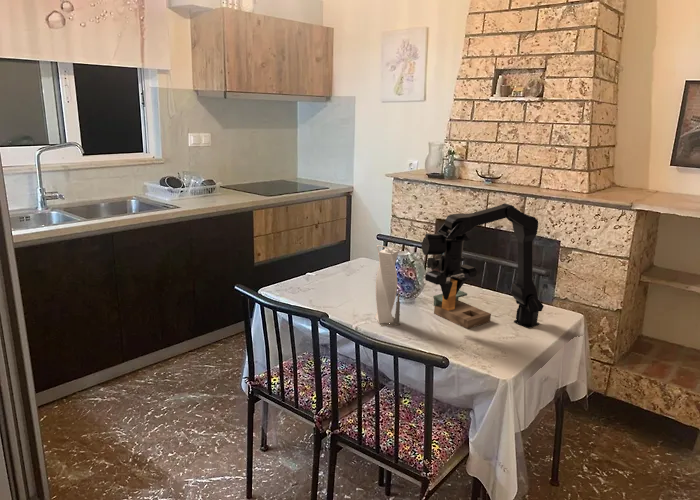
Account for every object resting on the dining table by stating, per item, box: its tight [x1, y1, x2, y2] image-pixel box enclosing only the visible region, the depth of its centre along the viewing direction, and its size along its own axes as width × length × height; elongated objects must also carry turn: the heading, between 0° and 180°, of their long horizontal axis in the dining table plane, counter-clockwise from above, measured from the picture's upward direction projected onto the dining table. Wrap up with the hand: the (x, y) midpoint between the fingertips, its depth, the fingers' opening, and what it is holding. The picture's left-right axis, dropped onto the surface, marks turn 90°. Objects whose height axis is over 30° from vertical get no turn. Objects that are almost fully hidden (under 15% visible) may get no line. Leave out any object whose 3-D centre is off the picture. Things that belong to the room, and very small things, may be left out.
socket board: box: [432, 289, 492, 330], centre depth 188 cm, size 16×13×7 cm
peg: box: [442, 278, 457, 311], centre depth 174 cm, size 3×3×10 cm
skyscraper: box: [374, 244, 401, 327], centre depth 180 cm, size 8×8×28 cm
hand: (449, 298), depth 175 cm, fingers closed on peg, 3 cm apart
